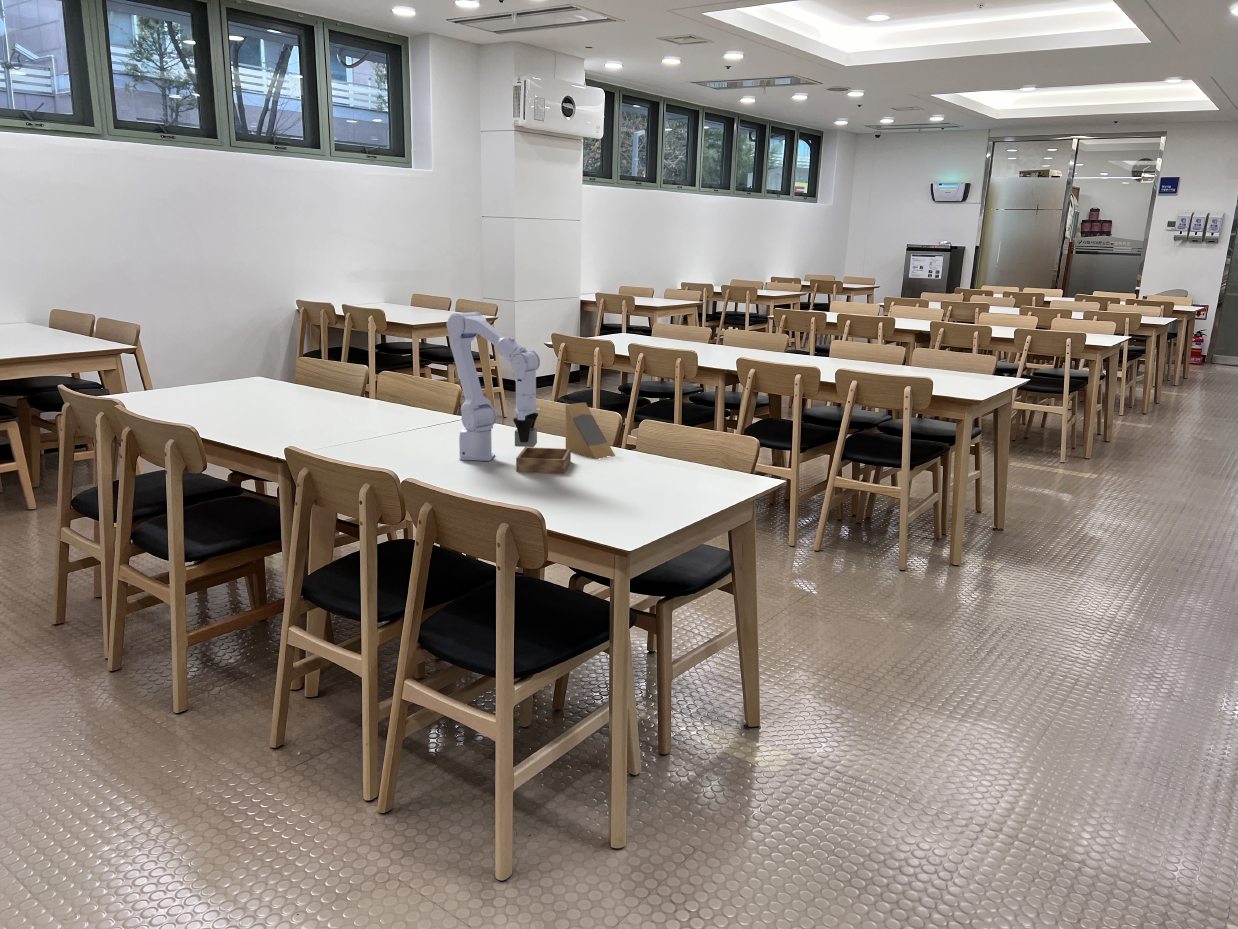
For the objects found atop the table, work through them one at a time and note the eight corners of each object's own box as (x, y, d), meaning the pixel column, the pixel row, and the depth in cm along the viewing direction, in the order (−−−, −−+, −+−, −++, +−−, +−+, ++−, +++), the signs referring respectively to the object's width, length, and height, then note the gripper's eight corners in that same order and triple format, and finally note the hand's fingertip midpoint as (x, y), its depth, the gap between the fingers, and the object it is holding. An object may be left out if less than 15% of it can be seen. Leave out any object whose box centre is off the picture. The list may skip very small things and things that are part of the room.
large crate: (516, 471, 252) (516, 458, 251) (525, 459, 265) (525, 447, 264) (564, 473, 251) (564, 460, 250) (570, 461, 264) (570, 448, 263)
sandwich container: (596, 460, 268) (597, 412, 264) (564, 450, 279) (564, 404, 275) (616, 456, 274) (617, 409, 270) (584, 447, 285) (585, 401, 281)
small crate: (514, 446, 252) (514, 431, 251) (518, 442, 257) (518, 427, 256) (533, 447, 251) (533, 431, 250) (537, 442, 257) (536, 428, 256)
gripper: (534, 398, 243) (535, 445, 247) (543, 390, 257) (543, 435, 261) (510, 397, 244) (510, 444, 247) (520, 389, 258) (520, 434, 261)
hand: (526, 439), depth 254 cm, fingers closed on small crate, 5 cm apart
